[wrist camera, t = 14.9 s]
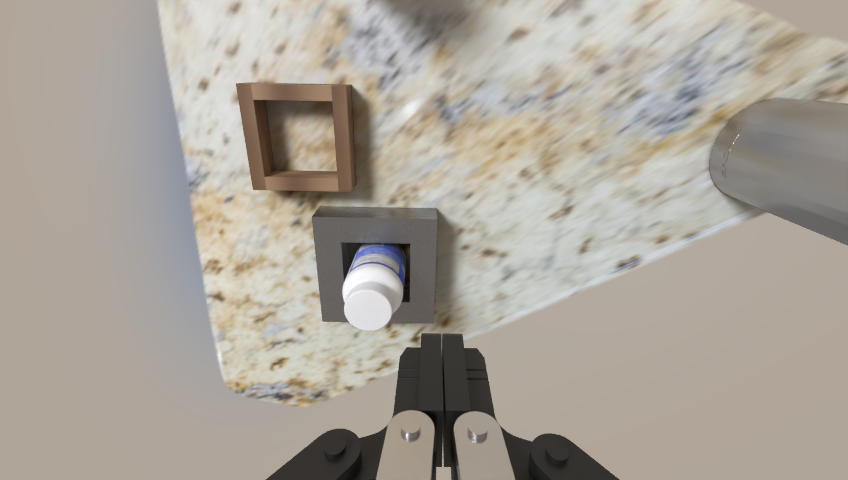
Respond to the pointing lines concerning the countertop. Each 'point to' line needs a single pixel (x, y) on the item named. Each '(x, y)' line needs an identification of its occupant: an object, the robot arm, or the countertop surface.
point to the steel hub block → (376, 227)
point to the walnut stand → (260, 143)
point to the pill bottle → (374, 285)
